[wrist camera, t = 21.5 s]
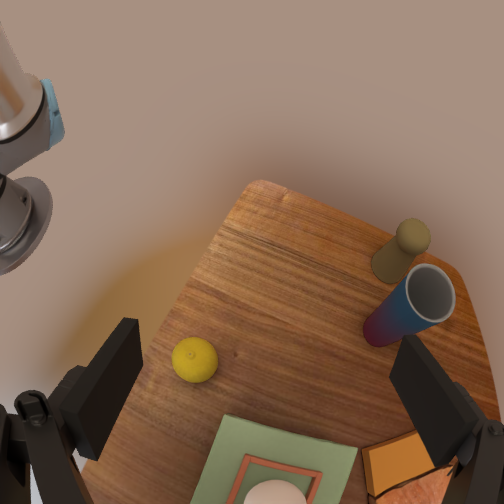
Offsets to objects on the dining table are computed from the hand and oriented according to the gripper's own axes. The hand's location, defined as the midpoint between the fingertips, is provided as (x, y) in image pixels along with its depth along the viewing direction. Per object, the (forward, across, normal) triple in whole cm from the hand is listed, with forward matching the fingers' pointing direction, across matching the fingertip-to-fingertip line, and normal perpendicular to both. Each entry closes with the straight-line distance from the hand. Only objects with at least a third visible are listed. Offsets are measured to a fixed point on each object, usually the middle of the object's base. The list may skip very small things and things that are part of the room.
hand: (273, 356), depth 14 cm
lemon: (+21, -7, -17) cm, 28 cm away
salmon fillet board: (+4, +24, -35) cm, 43 cm away
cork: (+33, +21, -6) cm, 39 cm away
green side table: (+11, +2, -28) cm, 30 cm away
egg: (+3, +2, -20) cm, 21 cm away
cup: (+25, +18, -13) cm, 34 cm away
